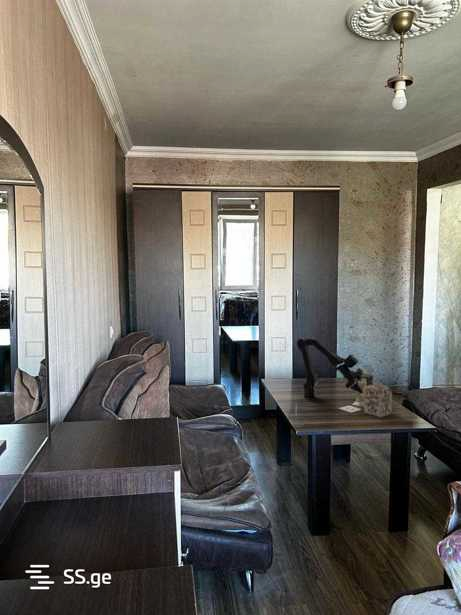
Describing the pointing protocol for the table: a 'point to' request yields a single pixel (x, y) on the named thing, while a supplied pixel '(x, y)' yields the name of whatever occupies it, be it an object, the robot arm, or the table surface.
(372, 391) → the decorative jar
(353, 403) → the coaster
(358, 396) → the birch block
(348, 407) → the white tile
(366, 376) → the coffee can
